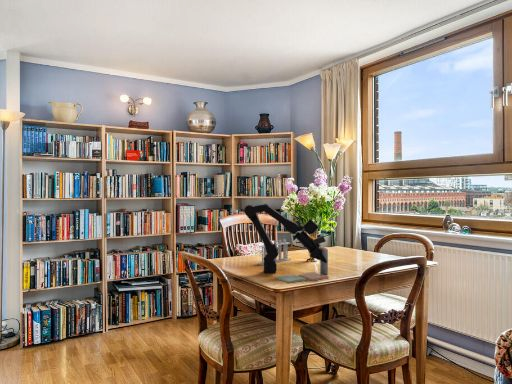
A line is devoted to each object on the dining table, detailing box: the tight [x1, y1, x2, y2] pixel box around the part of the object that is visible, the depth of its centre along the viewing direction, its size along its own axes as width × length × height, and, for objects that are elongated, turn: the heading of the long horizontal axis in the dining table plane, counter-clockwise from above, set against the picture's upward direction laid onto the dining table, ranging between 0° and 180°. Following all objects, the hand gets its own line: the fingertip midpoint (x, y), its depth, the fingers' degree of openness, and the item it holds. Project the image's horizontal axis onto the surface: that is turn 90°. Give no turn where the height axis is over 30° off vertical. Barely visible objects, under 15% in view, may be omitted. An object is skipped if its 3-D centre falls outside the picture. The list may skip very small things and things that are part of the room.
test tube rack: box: [258, 239, 292, 266], centre depth 246 cm, size 25×4×13 cm, turn 134°
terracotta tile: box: [297, 271, 330, 282], centre depth 204 cm, size 11×11×1 cm
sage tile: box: [275, 274, 307, 284], centre depth 199 cm, size 11×11×1 cm
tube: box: [319, 246, 329, 276], centre depth 212 cm, size 4×4×14 cm
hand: (326, 261), depth 212 cm, fingers closed on tube, 4 cm apart
